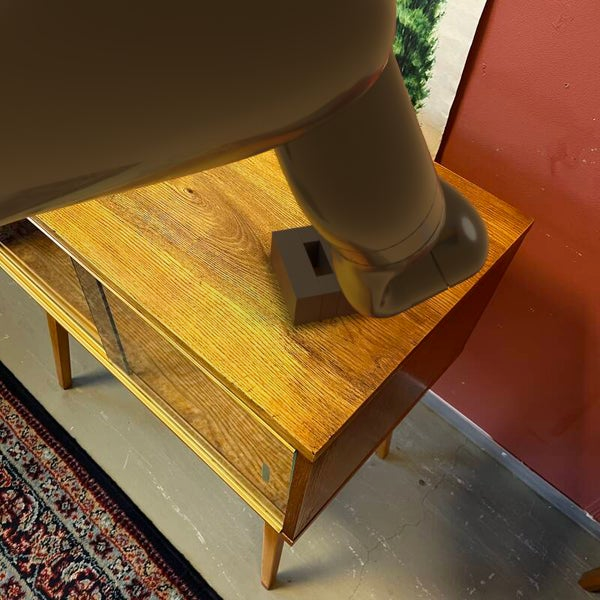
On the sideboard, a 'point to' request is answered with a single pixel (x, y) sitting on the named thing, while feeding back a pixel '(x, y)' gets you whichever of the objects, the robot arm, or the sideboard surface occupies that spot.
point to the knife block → (307, 276)
